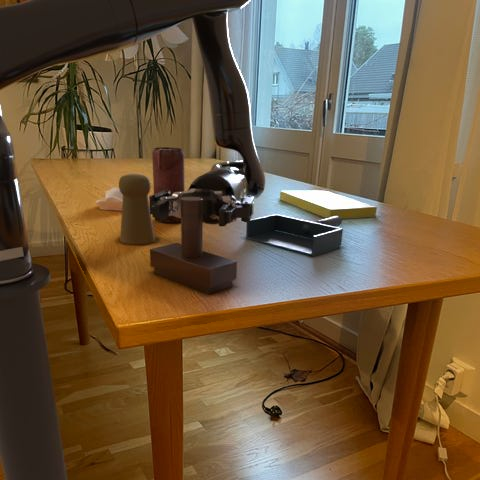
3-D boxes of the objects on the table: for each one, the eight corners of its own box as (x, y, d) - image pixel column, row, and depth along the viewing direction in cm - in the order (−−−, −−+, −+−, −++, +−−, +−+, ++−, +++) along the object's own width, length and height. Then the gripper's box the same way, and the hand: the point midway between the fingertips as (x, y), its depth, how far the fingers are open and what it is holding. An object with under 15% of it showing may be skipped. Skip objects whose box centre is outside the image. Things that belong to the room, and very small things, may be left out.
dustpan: (313, 256, 77) (315, 236, 76) (245, 238, 86) (246, 220, 85) (371, 236, 91) (374, 219, 89) (307, 222, 100) (309, 207, 98)
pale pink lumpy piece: (103, 192, 99) (88, 185, 106) (105, 213, 101) (90, 205, 108) (147, 189, 104) (130, 182, 112) (148, 209, 106) (131, 201, 113)
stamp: (209, 295, 60) (210, 208, 56) (150, 272, 67) (147, 193, 63) (236, 286, 64) (239, 203, 59) (177, 265, 71) (176, 190, 66)
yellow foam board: (375, 216, 108) (320, 197, 128) (377, 206, 107) (320, 189, 127) (329, 219, 103) (279, 199, 123) (330, 209, 102) (280, 190, 122)
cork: (123, 245, 79) (118, 177, 75) (117, 236, 84) (112, 172, 80) (158, 243, 82) (156, 176, 77) (151, 234, 87) (148, 171, 82)
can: (149, 222, 95) (145, 148, 90) (163, 215, 101) (161, 146, 95) (176, 225, 94) (175, 150, 88) (189, 218, 99) (189, 147, 93)
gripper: (173, 167, 75) (134, 182, 60) (263, 173, 73) (244, 189, 58) (174, 215, 78) (137, 240, 63) (260, 221, 76) (242, 249, 61)
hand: (188, 215), depth 61 cm, fingers open, 8 cm apart
